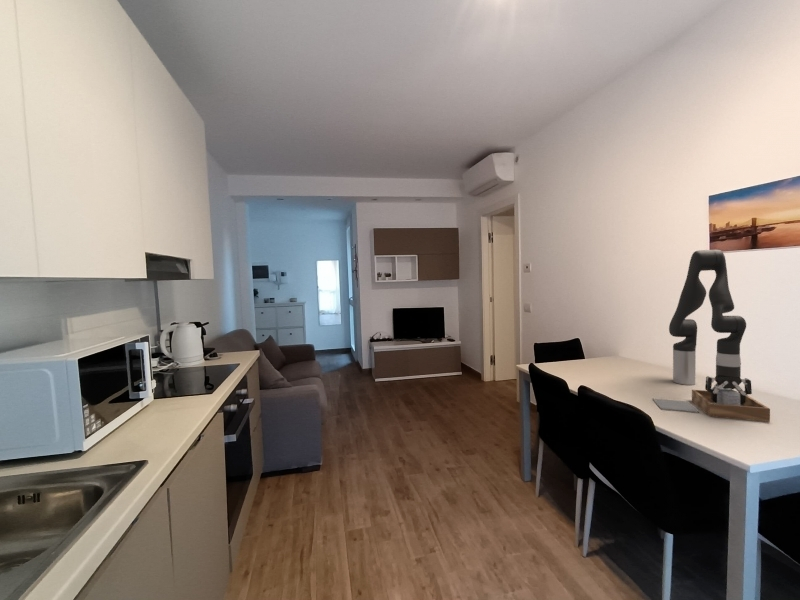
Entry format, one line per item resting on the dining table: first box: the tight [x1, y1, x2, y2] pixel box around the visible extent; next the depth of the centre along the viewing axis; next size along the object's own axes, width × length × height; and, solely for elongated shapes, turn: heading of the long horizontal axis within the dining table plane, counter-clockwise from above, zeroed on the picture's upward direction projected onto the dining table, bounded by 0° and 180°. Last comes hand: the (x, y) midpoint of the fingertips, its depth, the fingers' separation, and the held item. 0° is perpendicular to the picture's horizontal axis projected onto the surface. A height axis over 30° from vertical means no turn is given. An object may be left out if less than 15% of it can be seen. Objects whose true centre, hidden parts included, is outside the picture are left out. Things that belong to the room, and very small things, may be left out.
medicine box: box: [715, 388, 741, 406], centre depth 149 cm, size 8×4×9 cm, turn 168°
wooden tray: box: [691, 389, 771, 423], centre depth 149 cm, size 20×18×5 cm
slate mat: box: [652, 398, 700, 414], centre depth 156 cm, size 13×13×1 cm
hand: (727, 402), depth 149 cm, fingers open, 8 cm apart
